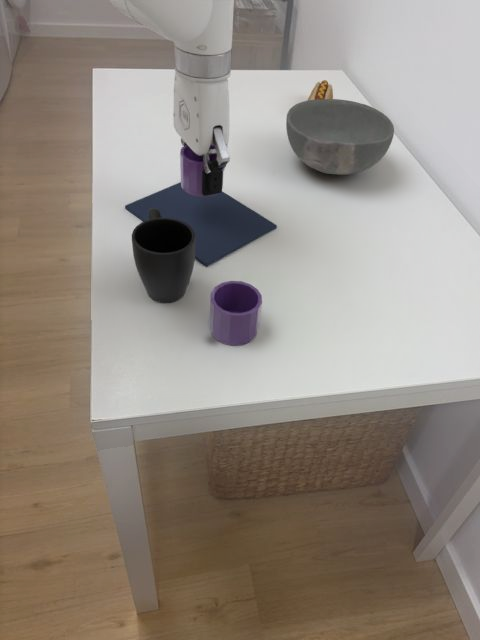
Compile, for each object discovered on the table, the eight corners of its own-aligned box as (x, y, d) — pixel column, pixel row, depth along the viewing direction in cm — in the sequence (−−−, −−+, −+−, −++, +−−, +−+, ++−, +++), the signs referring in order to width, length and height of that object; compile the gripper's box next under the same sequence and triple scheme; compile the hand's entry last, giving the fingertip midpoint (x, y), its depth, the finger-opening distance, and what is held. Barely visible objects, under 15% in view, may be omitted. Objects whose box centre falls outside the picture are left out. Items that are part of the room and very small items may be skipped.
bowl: (386, 155, 110) (400, 106, 103) (375, 204, 97) (390, 153, 89) (293, 134, 112) (300, 86, 105) (269, 180, 99) (275, 128, 91)
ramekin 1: (172, 183, 84) (171, 150, 79) (203, 170, 87) (203, 137, 83) (200, 201, 81) (200, 168, 77) (231, 187, 84) (233, 154, 80)
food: (310, 97, 126) (313, 75, 123) (333, 101, 126) (337, 79, 122) (302, 121, 117) (305, 98, 113) (326, 126, 117) (330, 103, 113)
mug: (185, 253, 82) (184, 199, 75) (200, 305, 74) (200, 251, 67) (131, 258, 80) (124, 203, 73) (141, 313, 72) (135, 257, 65)
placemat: (125, 208, 88) (124, 205, 88) (196, 178, 97) (196, 175, 96) (206, 267, 80) (206, 263, 80) (276, 228, 89) (276, 225, 88)
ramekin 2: (199, 326, 71) (199, 295, 67) (234, 304, 75) (236, 274, 71) (233, 353, 69) (236, 323, 65) (267, 329, 72) (272, 299, 68)
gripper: (152, 39, 74) (159, 159, 87) (204, 89, 64) (202, 215, 77) (201, 35, 76) (200, 151, 90) (258, 83, 67) (248, 205, 80)
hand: (201, 180), depth 83 cm, fingers closed on ramekin 1, 6 cm apart
